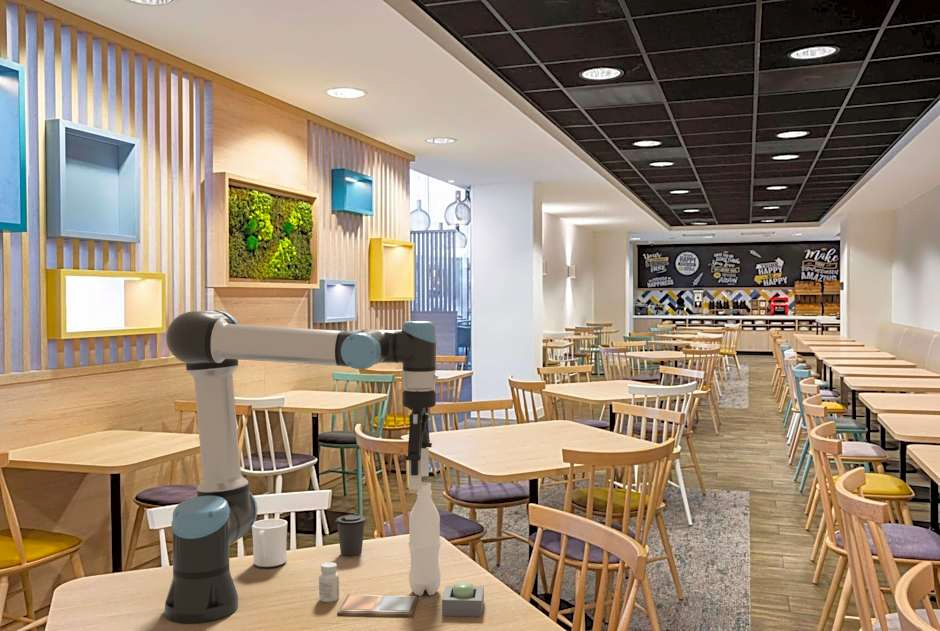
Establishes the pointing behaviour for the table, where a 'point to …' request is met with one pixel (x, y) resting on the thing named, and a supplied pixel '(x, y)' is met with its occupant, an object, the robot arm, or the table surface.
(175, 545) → the robot arm
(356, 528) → the coffee cup
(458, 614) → the button housing
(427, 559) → the water bottle
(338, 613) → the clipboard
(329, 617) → the table surface
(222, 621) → the table surface
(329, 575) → the pill bottle
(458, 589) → the button
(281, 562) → the mug
